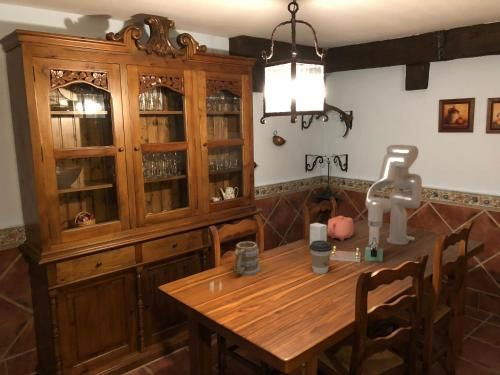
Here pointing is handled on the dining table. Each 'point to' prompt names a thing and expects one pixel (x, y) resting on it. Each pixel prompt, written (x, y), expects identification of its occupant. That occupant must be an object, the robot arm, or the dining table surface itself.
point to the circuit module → (378, 258)
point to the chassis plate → (345, 255)
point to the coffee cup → (320, 256)
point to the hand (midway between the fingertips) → (373, 254)
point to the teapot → (340, 227)
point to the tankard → (247, 258)
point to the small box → (318, 232)
